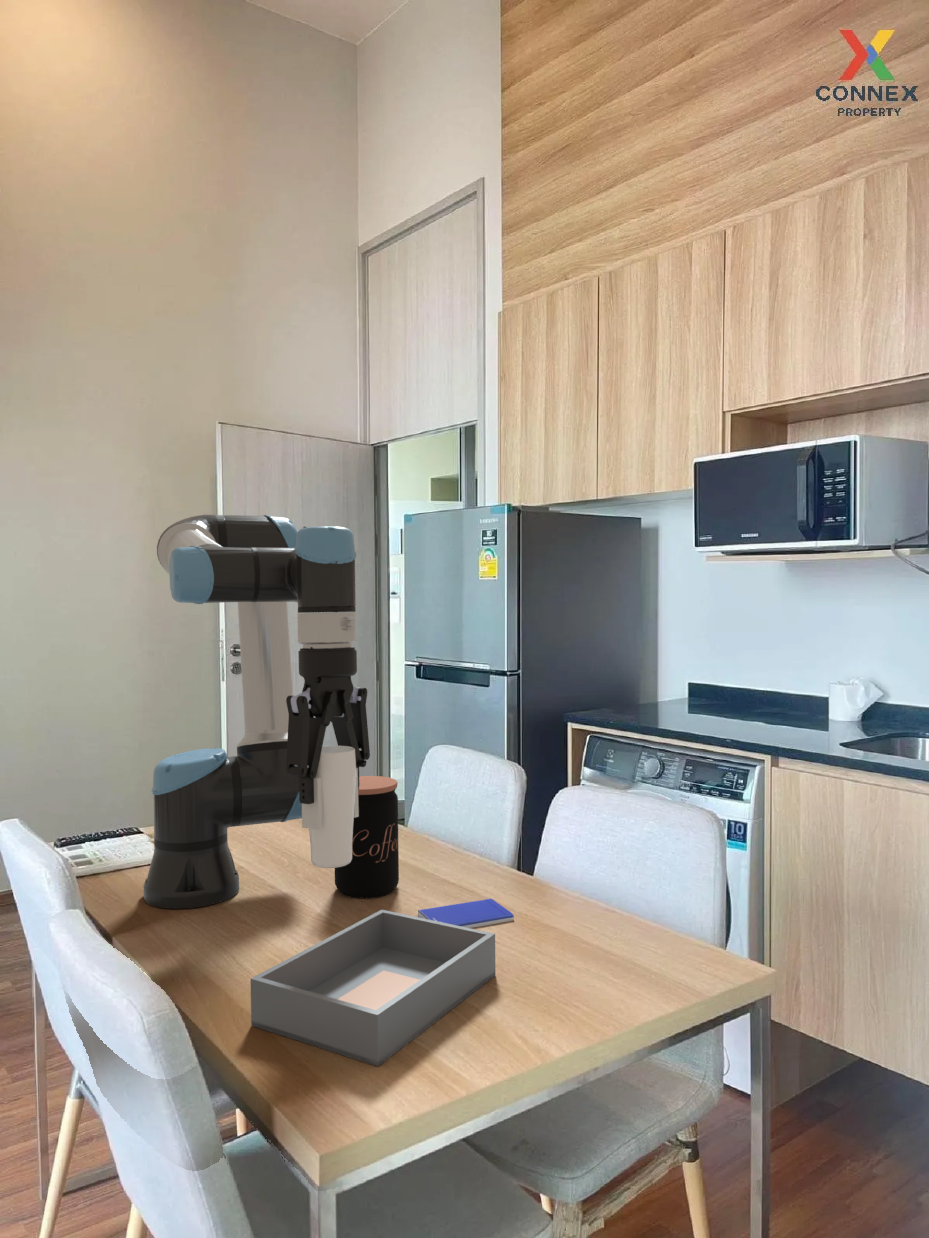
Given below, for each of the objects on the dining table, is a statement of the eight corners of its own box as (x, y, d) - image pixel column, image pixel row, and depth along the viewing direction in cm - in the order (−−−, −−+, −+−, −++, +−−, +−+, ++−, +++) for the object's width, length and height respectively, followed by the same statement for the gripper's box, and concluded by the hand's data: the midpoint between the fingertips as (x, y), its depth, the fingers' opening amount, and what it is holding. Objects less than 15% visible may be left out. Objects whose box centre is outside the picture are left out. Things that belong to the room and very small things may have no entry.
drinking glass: (308, 857, 121) (306, 745, 121) (359, 855, 121) (356, 744, 121) (302, 872, 114) (300, 754, 114) (356, 870, 115) (354, 752, 115)
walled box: (251, 1025, 104) (250, 978, 104) (382, 948, 126) (381, 909, 126) (378, 1066, 95) (377, 1014, 94) (495, 975, 117) (495, 933, 116)
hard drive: (437, 926, 131) (513, 913, 136) (417, 908, 138) (490, 897, 143) (438, 937, 131) (513, 924, 136) (417, 918, 138) (490, 906, 144)
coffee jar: (347, 904, 144) (346, 792, 143) (326, 884, 153) (324, 779, 153) (409, 893, 149) (407, 784, 148) (384, 875, 158) (383, 773, 158)
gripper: (298, 649, 107) (302, 842, 107) (395, 642, 124) (398, 809, 124) (252, 649, 111) (256, 835, 111) (352, 642, 128) (355, 804, 128)
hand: (331, 821), depth 118 cm, fingers closed on drinking glass, 7 cm apart
